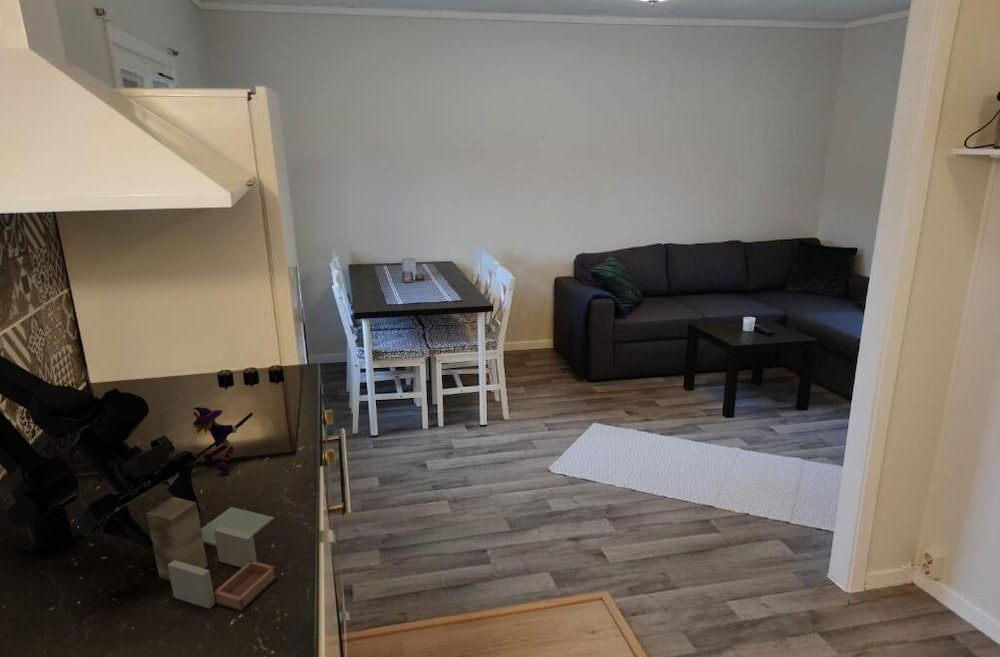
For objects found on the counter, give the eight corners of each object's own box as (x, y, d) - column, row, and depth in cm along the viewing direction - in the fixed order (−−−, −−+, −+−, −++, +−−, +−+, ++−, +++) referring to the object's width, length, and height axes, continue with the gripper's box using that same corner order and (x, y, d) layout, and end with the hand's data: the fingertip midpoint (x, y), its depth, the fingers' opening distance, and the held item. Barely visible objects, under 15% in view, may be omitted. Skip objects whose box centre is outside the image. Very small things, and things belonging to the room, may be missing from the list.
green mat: (189, 539, 110) (189, 537, 110) (231, 508, 119) (231, 507, 119) (234, 551, 107) (234, 549, 107) (274, 519, 116) (273, 517, 116)
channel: (174, 597, 96) (167, 564, 95) (224, 556, 106) (219, 526, 104) (209, 608, 94) (203, 575, 92) (257, 566, 103) (252, 534, 101)
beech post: (159, 577, 101) (146, 513, 97) (184, 559, 105) (172, 496, 102) (183, 585, 99) (170, 519, 96) (207, 565, 104) (196, 502, 100)
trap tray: (215, 603, 95) (213, 592, 94) (252, 570, 102) (250, 560, 102) (241, 611, 93) (239, 600, 93) (277, 577, 100) (275, 567, 100)
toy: (274, 442, 135) (232, 389, 129) (194, 499, 129) (146, 446, 123) (268, 430, 142) (228, 379, 135) (192, 484, 136) (146, 433, 130)
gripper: (73, 457, 89) (146, 539, 88) (180, 406, 105) (241, 474, 105) (48, 496, 94) (116, 574, 93) (154, 441, 110) (212, 507, 110)
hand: (176, 529), depth 100 cm, fingers open, 9 cm apart
